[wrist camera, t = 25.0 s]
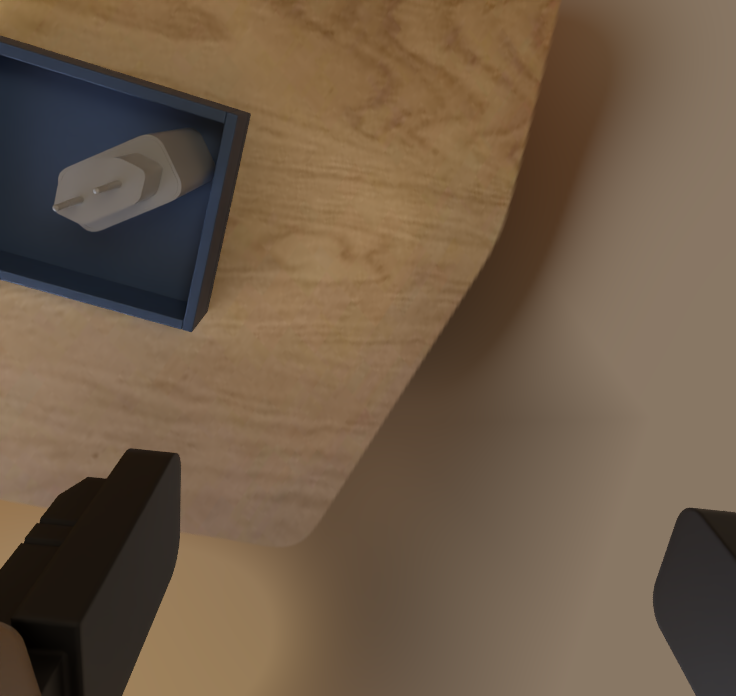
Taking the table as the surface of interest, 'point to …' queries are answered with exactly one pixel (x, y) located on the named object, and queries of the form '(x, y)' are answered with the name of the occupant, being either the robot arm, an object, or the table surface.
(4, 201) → the basin
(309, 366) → the table surface
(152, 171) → the power adapter
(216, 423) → the table surface
